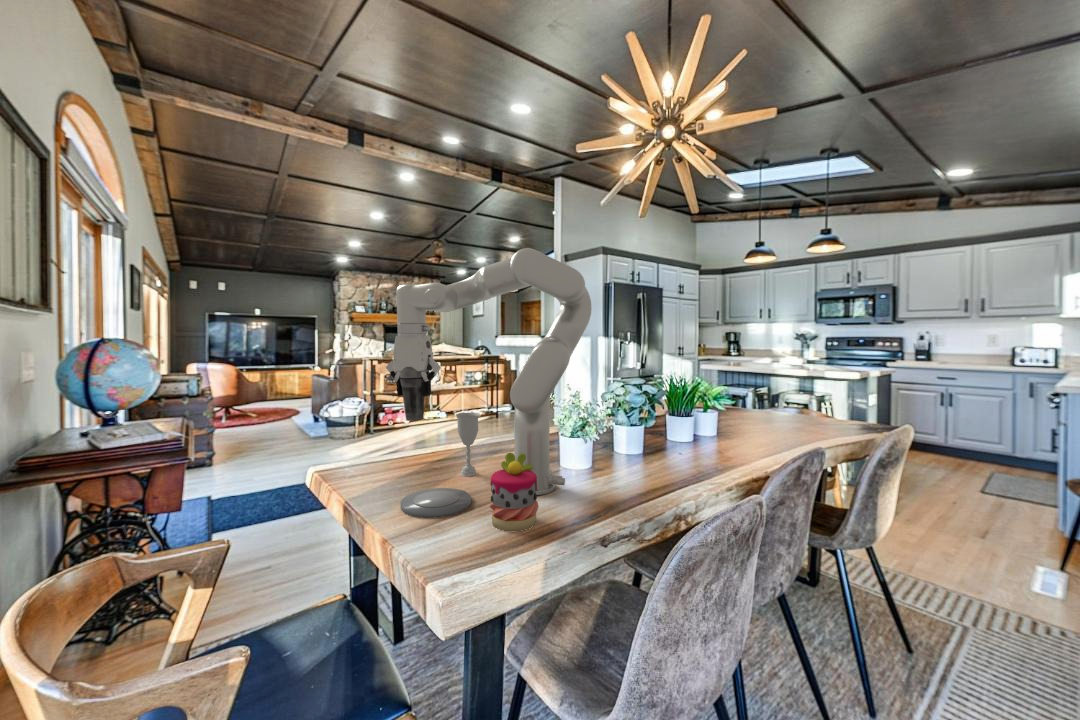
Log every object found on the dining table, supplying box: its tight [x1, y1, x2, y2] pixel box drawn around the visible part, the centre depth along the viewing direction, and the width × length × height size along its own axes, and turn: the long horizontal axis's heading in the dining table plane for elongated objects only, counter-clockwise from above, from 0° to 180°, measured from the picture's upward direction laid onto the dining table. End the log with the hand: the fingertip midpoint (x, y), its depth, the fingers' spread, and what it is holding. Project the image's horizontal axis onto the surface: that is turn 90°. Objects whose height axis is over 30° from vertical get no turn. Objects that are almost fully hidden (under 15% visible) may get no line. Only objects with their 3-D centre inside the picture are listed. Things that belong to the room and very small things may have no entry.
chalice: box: [455, 412, 481, 477], centre depth 139 cm, size 7×7×18 cm
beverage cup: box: [400, 367, 426, 422], centre depth 127 cm, size 7×7×20 cm
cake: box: [489, 452, 540, 532], centre depth 103 cm, size 10×11×15 cm
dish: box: [400, 487, 472, 519], centre depth 115 cm, size 17×17×2 cm
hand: (413, 394), depth 127 cm, fingers closed on beverage cup, 7 cm apart
